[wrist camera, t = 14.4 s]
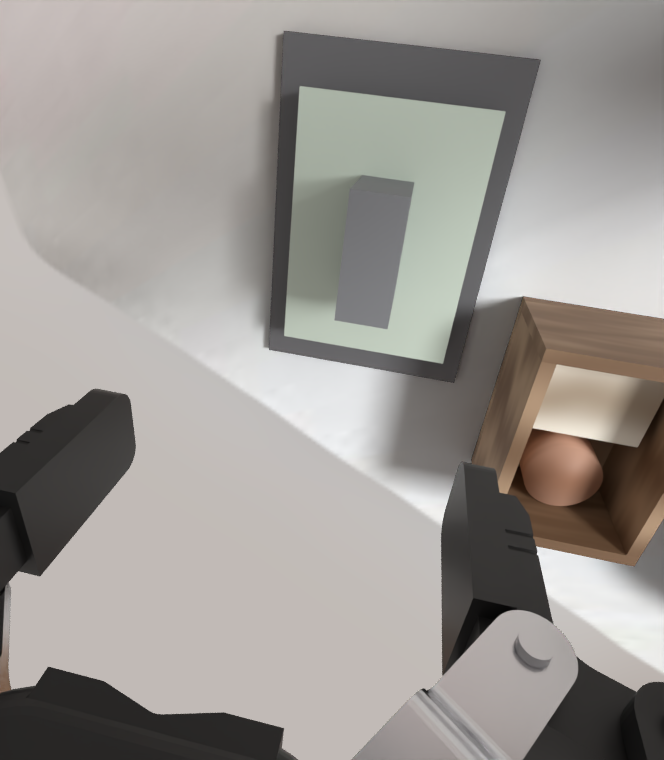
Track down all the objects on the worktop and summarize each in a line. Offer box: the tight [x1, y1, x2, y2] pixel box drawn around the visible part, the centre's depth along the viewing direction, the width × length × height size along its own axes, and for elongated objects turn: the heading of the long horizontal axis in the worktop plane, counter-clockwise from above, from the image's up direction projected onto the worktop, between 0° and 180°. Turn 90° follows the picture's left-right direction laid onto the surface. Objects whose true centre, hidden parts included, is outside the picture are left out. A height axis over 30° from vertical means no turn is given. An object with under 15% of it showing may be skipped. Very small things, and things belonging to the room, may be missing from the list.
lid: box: [284, 86, 506, 364], centre depth 29 cm, size 15×11×7 cm
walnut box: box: [471, 297, 664, 566], centre depth 33 cm, size 14×10×8 cm
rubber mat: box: [269, 31, 541, 383], centre depth 32 cm, size 20×14×1 cm
